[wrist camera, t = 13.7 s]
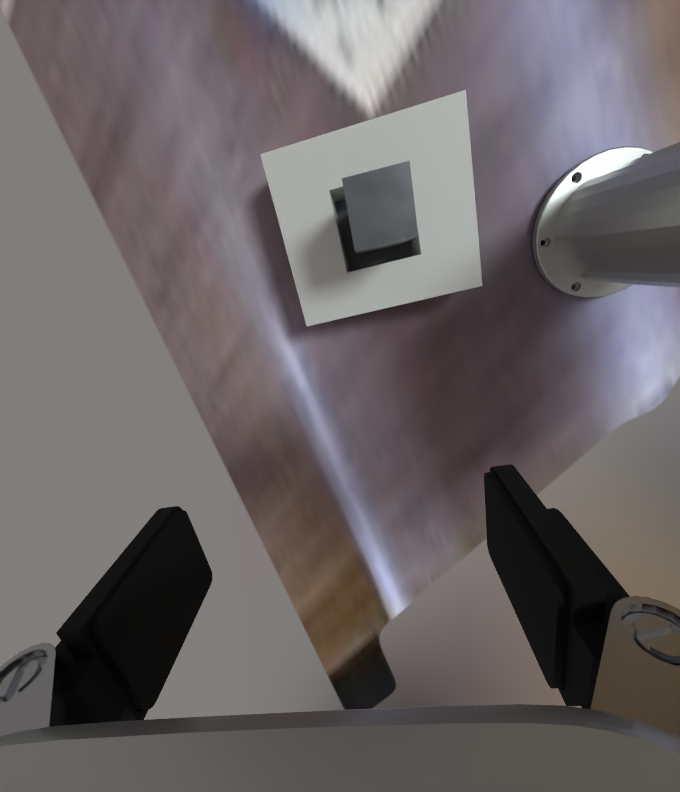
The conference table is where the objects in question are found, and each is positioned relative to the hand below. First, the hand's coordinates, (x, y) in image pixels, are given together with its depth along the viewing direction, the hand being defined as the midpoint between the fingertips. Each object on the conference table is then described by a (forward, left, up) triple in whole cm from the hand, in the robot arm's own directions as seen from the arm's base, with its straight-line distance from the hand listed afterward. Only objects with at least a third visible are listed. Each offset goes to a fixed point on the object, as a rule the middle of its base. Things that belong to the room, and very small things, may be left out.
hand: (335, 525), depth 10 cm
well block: (-4, -10, -30) cm, 31 cm away
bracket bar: (-4, -10, -29) cm, 31 cm away
